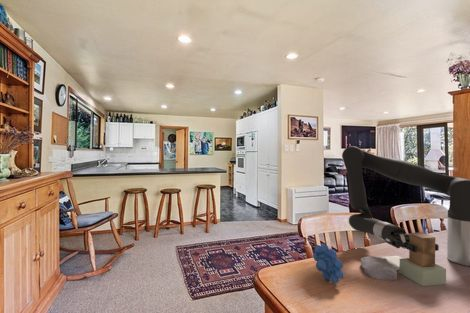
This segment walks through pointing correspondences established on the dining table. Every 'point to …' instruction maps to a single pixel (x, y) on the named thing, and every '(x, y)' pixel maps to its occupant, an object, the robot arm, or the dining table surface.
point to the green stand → (423, 273)
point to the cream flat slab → (393, 261)
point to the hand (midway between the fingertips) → (427, 248)
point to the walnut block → (422, 249)
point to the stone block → (379, 268)
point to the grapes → (328, 263)
